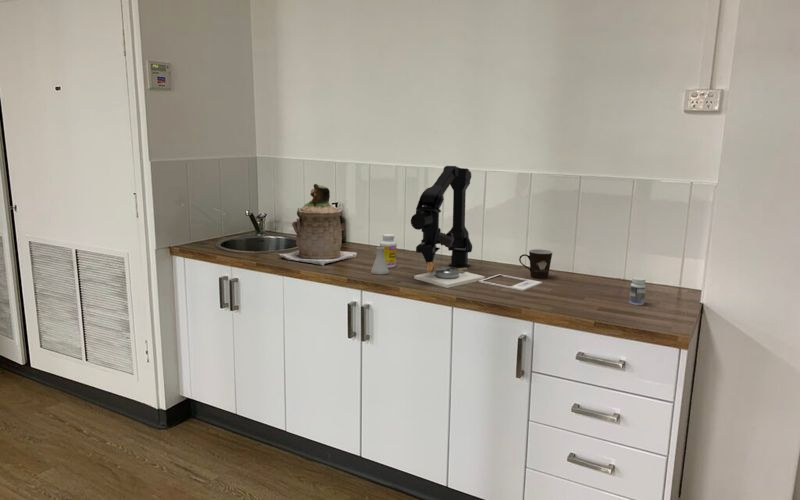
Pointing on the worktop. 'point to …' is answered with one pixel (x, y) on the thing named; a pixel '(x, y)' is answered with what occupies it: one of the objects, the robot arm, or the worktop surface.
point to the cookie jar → (318, 231)
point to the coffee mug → (538, 263)
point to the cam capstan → (443, 271)
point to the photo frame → (520, 286)
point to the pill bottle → (637, 291)
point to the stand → (462, 279)
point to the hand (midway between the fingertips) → (429, 267)
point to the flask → (380, 263)
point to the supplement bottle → (389, 250)
